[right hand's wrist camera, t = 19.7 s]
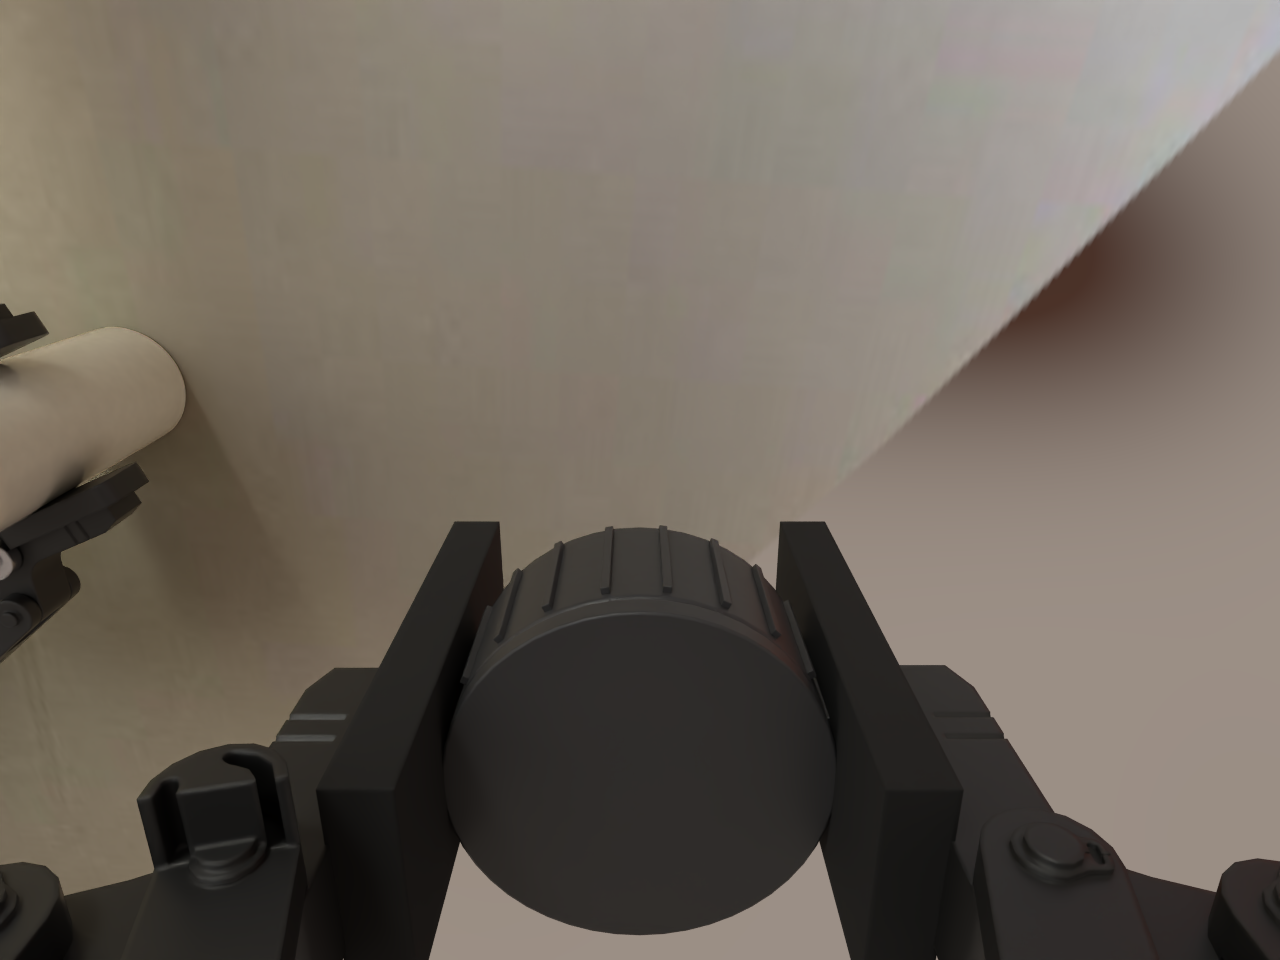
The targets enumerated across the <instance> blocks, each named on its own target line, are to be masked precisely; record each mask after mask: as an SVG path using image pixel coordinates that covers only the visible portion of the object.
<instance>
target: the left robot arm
mask: <svg viewBox="0 0 1280 960" xmlns="http://www.w3.org/2000/svg"><path fill="white" fill-rule="evenodd" d="M48 334H49V332H48V331H47V329H46V328H45V326H44V325H43V323H42V322H41V321H40V319H39V318H38V316H37V315H36V313H35V312H29V313H25V314H21V315H18V316H14V317H13V315H12V314H11V312H10V311H9V309H8V308H7V307H6V305H5V304H0V357H2V356H4V355H7V354H9V353H11V352H13V351H15V350H17V349H19V348H21V347H23V346H25V345H27V344H30V343H32V342H34V341H36V340H38V339H40V338H42V337H44V336H46V335H48ZM147 482H149V480H148V478H147V477H146V475H145V474H144V472H143V471H142V469H141V468H140V467H139V465H138V464H137V462H134V463H131V464H129V465H127V466H124V467H122V468H120V469H118V470H115V471H113V472H111V473H109V474H106V475H104V476H102V477H99V478H97V479H95V480H93V481H90V482H88V483H86V484H84V485H81V486H79V487H77V488H75V489H73V490H71V491H70V492H68V493H66V494H65V495H63V496H61V497H60V498H58V499H56V500H54V501H53V502H51V503H49V504H48V505H46V506H44V507H43V508H41V509H39V510H38V511H36V512H34V513H32V514H31V515H29V516H27V517H26V518H24V519H23V520H21V521H19V522H17V523H16V524H14V525H12V526H11V527H9V528H7V529H6V530H4V531H2V532H1V533H0V663H2V662H3V661H4V660H5V659H6V658H7V657H8V656H9V655H10V654H11V653H12V652H14V651H15V650H16V649H17V648H18V647H19V646H20V645H21V644H22V643H23V642H25V641H26V640H27V639H28V638H29V637H30V636H31V635H32V634H33V633H34V632H35V631H37V630H38V629H39V628H40V627H41V626H42V625H43V624H44V623H45V622H46V621H47V620H49V619H50V618H51V617H52V616H53V615H54V614H55V613H56V612H57V611H58V610H59V609H61V608H62V607H63V606H64V605H65V604H66V603H67V602H68V601H69V600H70V599H72V598H73V597H74V596H75V595H76V594H77V593H78V592H79V590H80V580H79V578H78V576H77V575H76V573H75V572H74V571H72V570H71V569H69V568H68V567H65V566H63V565H62V561H61V551H64V550H66V549H68V548H71V547H73V546H75V545H77V544H79V543H82V542H85V541H87V540H89V539H92V538H94V537H96V536H99V535H101V534H103V533H106V532H107V531H108V530H110V529H111V528H113V527H114V526H116V525H117V524H118V523H120V522H121V521H123V520H124V519H125V518H127V517H128V516H130V515H131V514H132V513H133V512H134V511H135V510H136V509H137V507H138V506H139V505H140V504H141V503H142V502H141V501H140V499H139V498H138V497H137V495H136V494H135V492H134V491H135V490H137V489H138V488H140V487H141V486H143V485H144V484H146V483H147Z"/></svg>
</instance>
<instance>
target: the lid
mask: <svg viewBox="0 0 1280 960" xmlns="http://www.w3.org/2000/svg"><path fill="white" fill-rule="evenodd" d="M460 683H462V684H464V685H463V688H462V691H461V693H460V696H459V699H458V702H457V705H456V708H455V711H454V714H453V717H452V720H451V723H450V728H449V731H448V734H447V738H446V741H445V745H444V752H443V774H444V786H445V795H446V804H447V812H448V815H449V818H450V821H451V823H452V826H453V829H454V831H455V833H456V835H457V837H458V838H459V840H460V842H461V844H462V846H463V848H464V849H465V850H466V852H467V853H468V855H469V856H470V857H471V859H472V860H473V862H474V863H475V864H476V865H477V866H478V868H479V869H480V870H481V871H482V872H483V873H484V874H485V875H486V876H487V877H488V878H489V879H490V880H491V881H492V882H493V883H494V884H496V885H497V886H498V887H499V888H501V889H502V890H503V891H504V892H505V893H507V894H508V895H509V896H511V897H512V898H514V899H516V900H517V901H519V902H520V903H522V904H523V905H525V906H527V907H529V908H531V909H533V910H535V911H537V912H539V913H541V914H543V915H545V916H547V917H550V918H552V919H555V920H558V921H561V922H563V923H566V924H569V925H572V926H576V927H580V928H584V929H588V930H592V931H599V932H605V933H612V934H626V935H652V934H666V933H672V932H679V931H686V930H690V929H694V928H698V927H702V926H706V925H710V924H712V923H715V922H718V921H720V920H723V919H726V918H729V917H731V916H734V915H735V914H738V913H740V912H742V911H744V910H746V909H748V908H750V907H752V906H753V905H755V904H757V903H758V902H760V901H761V900H763V899H764V898H766V897H767V896H769V895H770V894H772V893H773V892H774V891H776V890H777V889H778V888H779V887H780V886H782V885H783V884H784V883H785V882H786V881H788V880H789V879H790V878H791V877H792V876H793V874H795V872H796V871H797V870H798V869H799V868H800V867H801V866H802V865H803V864H804V863H805V861H806V860H807V858H808V857H809V856H810V854H811V853H812V851H813V850H814V849H815V847H816V846H817V844H818V842H819V840H820V838H821V836H822V834H823V833H824V831H825V829H826V827H827V824H828V821H829V818H830V815H831V812H832V804H833V795H834V785H835V774H836V763H837V754H836V747H835V741H834V738H833V735H832V732H831V728H830V725H829V714H828V711H827V709H826V706H825V703H824V700H823V697H822V694H821V691H820V688H819V685H818V682H817V679H816V673H815V670H814V667H813V664H812V662H811V659H810V656H809V653H808V650H807V647H806V645H805V642H804V639H803V636H802V633H801V631H800V628H799V625H798V622H797V619H796V616H795V614H794V611H793V608H792V605H791V603H790V602H789V600H787V601H785V602H783V601H782V599H781V598H780V596H779V595H778V593H777V592H776V590H775V589H774V588H773V587H772V586H771V585H770V583H769V582H768V581H767V580H766V579H765V578H764V576H763V573H762V570H761V568H760V567H759V566H758V565H756V564H755V565H754V566H753V567H752V566H751V565H749V564H748V563H747V562H746V561H745V560H743V559H741V558H740V557H738V556H737V555H735V554H733V553H732V552H730V551H729V550H727V549H725V548H723V547H721V546H719V543H718V541H717V540H715V539H712V538H711V540H710V541H708V540H705V539H702V538H699V537H696V536H692V535H689V534H686V533H682V532H676V531H671V530H667V526H659V529H656V528H623V529H613V526H611V527H606V528H605V531H603V532H597V533H593V534H590V535H587V536H583V537H580V538H577V539H574V540H571V541H569V542H567V543H565V544H563V543H562V541H560V542H557V543H555V545H554V549H552V550H550V551H549V552H547V553H545V554H544V555H542V556H541V557H539V558H537V559H536V560H534V561H533V562H532V563H531V564H529V565H528V566H527V567H526V568H525V569H523V570H522V571H521V570H520V569H519V568H518V569H516V570H515V571H514V572H513V575H512V578H511V581H510V583H509V584H508V585H507V586H506V587H505V589H504V590H503V591H502V593H501V594H500V596H499V597H498V599H497V600H496V602H495V603H494V604H493V606H492V607H491V606H489V605H487V606H486V608H485V610H484V612H483V615H482V618H481V621H480V624H479V627H478V630H477V633H476V636H475V639H474V642H473V645H472V648H471V650H470V653H469V656H468V659H467V662H466V665H465V668H464V671H463V674H462V677H461V680H460Z"/></svg>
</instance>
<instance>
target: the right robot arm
mask: <svg viewBox="0 0 1280 960" xmlns="http://www.w3.org/2000/svg"><path fill="white" fill-rule="evenodd" d="M503 590H504V588H503V572H502V556H501V540H500V524H499V522H454V524H453V526H452V528H451V530H450V532H449V533H448V535H447V537H446V539H445V541H444V543H443V545H442V547H441V549H440V551H439V553H438V555H437V557H436V559H435V560H434V562H433V564H432V566H431V568H430V570H429V572H428V574H427V576H426V578H425V580H424V582H423V584H422V586H421V587H420V589H419V591H418V593H417V595H416V597H415V599H414V601H413V603H412V605H411V607H410V609H409V611H408V612H407V614H406V616H405V618H404V620H403V622H402V624H401V626H400V628H399V630H398V632H397V634H396V636H395V638H394V639H393V641H392V643H391V645H390V647H389V649H388V651H387V653H386V655H385V657H384V659H383V661H382V663H381V664H380V666H379V668H334V669H333V670H331V671H330V672H329V673H327V674H326V675H325V676H323V677H322V678H321V679H319V680H318V681H317V682H315V683H314V684H313V685H311V686H310V687H309V688H307V689H306V690H305V692H304V693H303V695H302V697H301V698H300V700H299V701H298V703H297V704H296V706H295V708H294V709H293V711H292V712H291V714H290V719H289V720H286V722H285V723H284V725H283V726H282V728H281V730H280V731H279V733H278V734H277V736H276V742H272V744H271V745H270V747H269V748H268V747H265V746H261V745H257V744H227V745H223V746H219V747H215V748H211V749H207V750H203V751H199V752H197V753H195V754H193V755H191V756H189V757H186V758H184V759H182V760H180V761H178V762H176V763H174V764H172V765H171V766H169V767H168V768H167V769H165V770H164V771H163V772H161V773H160V774H159V775H157V776H156V777H155V778H153V779H152V780H151V781H150V782H149V783H148V785H147V786H146V787H145V789H144V790H143V792H142V793H141V794H140V796H139V797H138V798H137V803H138V807H139V811H140V815H141V819H142V822H143V826H144V830H145V834H146V838H147V842H148V846H149V850H150V853H151V857H152V861H153V865H154V871H153V873H151V874H147V875H144V876H141V877H138V878H135V879H132V880H128V881H124V882H120V883H116V884H112V885H108V886H103V887H99V888H95V889H91V890H87V891H82V892H78V893H74V894H70V895H66V896H64V894H63V891H62V888H61V885H60V881H59V878H58V877H57V876H56V875H55V874H54V873H53V872H52V871H51V870H49V869H48V868H47V867H46V866H43V865H37V864H31V863H26V862H20V863H13V864H5V865H0V960H343V958H344V960H429V956H430V952H431V949H432V945H433V941H434V938H435V934H436V930H437V926H438V922H439V919H440V914H441V911H442V907H443V904H444V900H445V896H446V892H447V889H448V885H449V881H450V877H451V873H452V869H453V866H454V862H455V858H456V855H457V851H458V847H459V843H460V840H459V838H458V837H457V835H456V833H455V831H454V829H453V826H452V823H451V821H450V818H449V815H448V812H447V804H446V795H445V786H444V774H443V752H444V745H445V741H446V738H447V734H448V731H449V728H450V723H451V720H452V717H453V714H454V711H455V708H456V705H457V702H458V699H459V696H460V693H461V691H462V688H463V685H464V684H462V683H460V680H461V677H462V674H463V671H464V668H465V665H466V662H467V659H468V656H469V653H470V650H471V648H472V645H473V642H474V639H475V636H476V633H477V630H478V627H479V624H480V621H481V618H482V615H483V612H484V610H485V608H486V606H487V605H489V606H491V607H492V606H493V604H494V603H495V602H496V600H497V599H498V597H499V596H500V594H501V593H502V591H503ZM776 592H777V593H778V595H779V596H780V598H781V599H782V601H783V602H785V601H787V600H789V602H790V603H791V605H792V608H793V611H794V614H795V616H796V619H797V622H798V625H799V628H800V631H801V633H802V636H803V639H804V642H805V645H806V647H807V650H808V653H809V656H810V659H811V662H812V664H813V667H814V670H815V673H816V679H817V682H818V685H819V688H820V691H821V694H822V697H823V700H824V703H825V706H826V709H827V711H828V714H829V725H830V728H831V732H832V735H833V738H834V741H835V747H836V754H837V763H836V774H835V785H834V795H833V804H832V812H831V815H830V818H829V821H828V824H827V827H826V829H825V831H824V833H823V834H822V836H821V838H820V840H819V842H820V845H821V849H822V853H823V857H824V860H825V864H826V868H827V872H828V875H829V879H830V883H831V887H832V890H833V894H834V898H835V902H836V905H837V909H838V913H839V917H840V921H841V924H842V928H843V932H844V936H845V939H846V943H847V947H848V951H849V954H850V958H851V960H936V955H937V958H938V960H1280V861H1273V860H1265V859H1251V860H1246V861H1240V862H1235V863H1234V864H1232V865H1231V866H1230V867H1229V868H1228V869H1227V870H1226V871H1225V872H1224V873H1223V874H1222V876H1221V879H1220V883H1219V886H1218V889H1217V892H1212V891H1208V890H1204V889H1200V888H1195V887H1191V886H1187V885H1183V884H1179V883H1174V882H1170V881H1166V880H1162V879H1158V878H1153V877H1150V876H1147V875H1143V874H1140V873H1137V872H1134V871H1131V870H1128V869H1126V867H1125V866H1124V864H1123V863H1122V861H1121V860H1120V858H1119V856H1118V855H1117V853H1116V852H1115V850H1114V849H1113V847H1112V846H1110V845H1109V844H1108V843H1107V842H1106V841H1105V840H1103V839H1102V838H1101V837H1100V836H1099V835H1098V834H1096V833H1095V832H1094V831H1093V830H1092V829H1090V828H1088V827H1086V826H1084V825H1082V824H1080V823H1078V822H1076V821H1074V820H1072V819H1070V818H1069V817H1067V816H1064V815H1060V814H1057V813H1054V811H1053V810H1052V808H1051V806H1050V805H1049V803H1048V802H1047V800H1046V799H1045V797H1044V796H1043V794H1042V792H1041V791H1040V789H1039V788H1038V786H1037V785H1036V783H1035V782H1034V780H1033V778H1032V777H1031V775H1030V774H1029V772H1028V771H1027V769H1026V767H1025V766H1024V764H1023V763H1022V761H1021V760H1020V758H1019V757H1018V755H1017V753H1016V752H1015V750H1014V749H1013V747H1012V746H1011V744H1010V743H1009V741H1008V739H1004V733H1003V732H1002V730H1001V728H1000V727H999V725H998V724H997V722H996V721H995V719H994V718H993V717H990V711H989V710H988V708H987V707H986V705H985V704H984V702H983V700H982V699H981V697H980V696H979V694H978V693H977V691H976V690H975V688H974V687H973V686H972V685H971V684H969V683H968V682H966V681H965V680H964V679H963V678H961V677H960V676H959V675H957V674H956V673H955V672H953V671H952V670H951V669H949V668H948V667H947V666H945V665H899V664H898V662H897V660H896V658H895V656H894V654H893V652H892V650H891V648H890V646H889V644H888V642H887V641H886V639H885V637H884V635H883V633H882V631H881V629H880V627H879V625H878V623H877V621H876V619H875V617H874V616H873V614H872V612H871V610H870V608H869V606H868V604H867V602H866V600H865V598H864V596H863V594H862V592H861V591H860V589H859V587H858V585H857V583H856V581H855V579H854V577H853V575H852V573H851V571H850V569H849V567H848V565H847V563H846V562H845V560H844V558H843V556H842V554H841V552H840V550H839V548H838V546H837V544H836V542H835V540H834V538H833V537H832V535H831V533H830V531H829V529H828V527H827V525H826V523H825V522H780V532H779V548H778V563H777V579H776Z"/></svg>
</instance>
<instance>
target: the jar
mask: <svg viewBox="0 0 1280 960" xmlns="http://www.w3.org/2000/svg"><path fill="white" fill-rule="evenodd" d="M185 401H186V391H185V385H184V381H183V378H182V375H181V372H180V370H179V368H178V366H177V365H176V363H175V362H174V360H173V359H172V357H171V356H170V355H169V354H168V353H167V352H166V351H165V350H164V349H163V348H162V347H161V346H160V345H159V344H158V343H156V342H155V341H154V340H152V339H151V338H149V337H147V336H145V335H143V334H141V333H139V332H136V331H134V330H130V329H126V328H121V327H104V328H98V329H95V330H91V331H88V332H85V333H82V334H79V335H76V336H73V337H70V338H66V339H63V340H60V341H57V342H54V343H51V344H48V345H45V346H41V347H38V348H35V349H32V350H29V351H26V352H23V353H19V354H16V355H13V356H10V357H7V358H4V359H1V360H0V533H1V532H2V531H4V530H6V529H7V528H9V527H11V526H12V525H14V524H16V523H17V522H19V521H21V520H23V519H24V518H26V517H27V516H29V515H31V514H32V513H34V512H36V511H38V510H39V509H41V508H43V507H44V506H46V505H48V504H49V503H51V502H53V501H54V500H56V499H58V498H60V497H61V496H63V495H65V494H66V493H68V492H70V491H71V490H73V489H75V488H77V487H78V486H80V485H82V484H83V483H85V482H87V481H88V480H90V479H92V478H93V477H95V476H97V475H99V474H100V473H102V472H104V471H105V470H107V469H109V468H110V467H112V466H114V465H115V464H117V463H119V462H120V461H122V460H124V459H126V458H127V457H129V456H131V455H132V454H134V453H136V452H137V451H139V450H141V449H142V448H144V447H146V446H148V445H149V444H151V443H153V442H154V441H156V440H158V439H159V438H161V437H163V436H164V435H166V434H167V433H169V432H170V431H171V430H172V429H173V428H174V427H175V426H176V425H177V424H178V422H179V420H180V419H181V417H182V414H183V412H184V407H185Z"/></svg>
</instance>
